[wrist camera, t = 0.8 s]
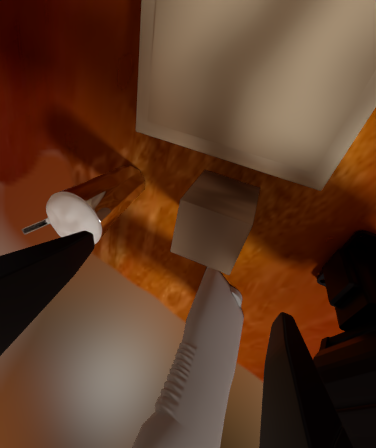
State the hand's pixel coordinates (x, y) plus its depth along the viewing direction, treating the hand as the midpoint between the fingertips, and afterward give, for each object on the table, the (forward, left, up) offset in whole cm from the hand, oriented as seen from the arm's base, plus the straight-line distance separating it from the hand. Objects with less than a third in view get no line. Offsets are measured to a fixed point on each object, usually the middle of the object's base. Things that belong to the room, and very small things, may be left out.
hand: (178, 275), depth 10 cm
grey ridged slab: (-4, +15, -12) cm, 20 cm away
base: (+1, -8, -12) cm, 14 cm away
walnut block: (0, +2, -12) cm, 12 cm away
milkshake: (+10, +4, -12) cm, 16 cm away
